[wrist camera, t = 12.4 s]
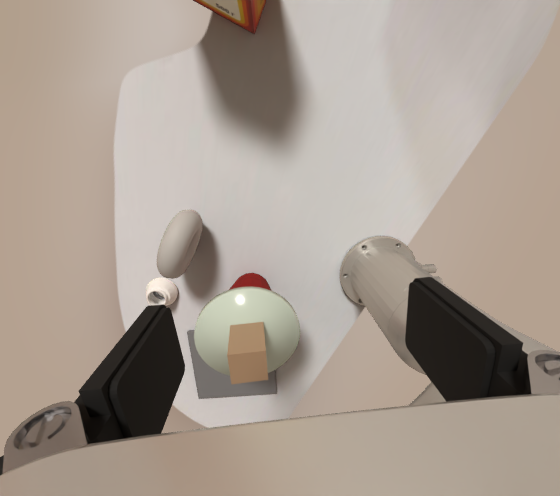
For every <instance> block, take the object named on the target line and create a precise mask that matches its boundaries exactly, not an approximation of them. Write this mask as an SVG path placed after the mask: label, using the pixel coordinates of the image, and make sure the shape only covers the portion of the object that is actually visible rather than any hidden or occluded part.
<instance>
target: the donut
mask: <svg viewBox="0 0 560 496" xmlns="http://www.w3.org/2000/svg"><path fill="white" fill-rule="evenodd" d="M202 226H203V223H202V219H201V217H200V215H199V214H198V213H197V212H196V211H194V210H183V211H181V212H179V213H178V214H177V215H176V216H175V217H174V218H173V219H172V220H171V222H170V223H169V225H168V227H167V229H166V231H165V233H164V235H163V237H162V240H161V243H160V246H159V249H158V254H157V267H158V270H159V272H160V274H161V275H162V276H164V277H166V278H172V279H173V278H177V277H180V276H181V275H182V274H183V273H184V272H185V271H186V269H187V268H188V266H189V264H190V262H191V260H192V258H193V256H194V254H195V251H196V249H197V246H198V243H199V240H200V237H201V233H202Z"/></svg>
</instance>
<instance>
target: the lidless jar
mask: <svg viewBox="0 0 560 496" xmlns="http://www.w3.org/2000/svg"><path fill="white" fill-rule="evenodd" d="M154 291H157V293H158V294H159V295H160V296H163V297H165V300H160V299H158V298H156V297H155V296H154V294H153V292H154ZM177 295H178V291H177V287H176V286H175V284H174V283H173V282H171V281H170V280H169V279H165V278H156V279H153V280H151V281H150V283H149V284H148V285H147V288H146V298H147V302H148V303H149V304H150V305H151V306H152V305H162V304H164V305H165V306H168V305H170V304H172V303H173V302H174V301H175V300H176V299H177Z"/></svg>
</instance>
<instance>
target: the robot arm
mask: <svg viewBox="0 0 560 496" xmlns="http://www.w3.org/2000/svg"><path fill="white" fill-rule="evenodd" d="M396 244H397V245H396ZM363 245H364V246H363ZM362 246H363V247H362ZM435 272H436V266H435V265H434V264H429V265H421V264H420V263H418V262H417V261H415V257H414V255H413V253H412V251H411V250H410V249H409V248H408V246H406V245H405V244H404V243H403V242H401V241H399V240H397V239H395V238H392V237H387V236H375V237H371V238H368V239H365V240H363V241H361V242H359V243H358V244H356V245H355V246H354V247H353V248H352V249H351V250H350V251H349V252H348V253H347V255H346V256H345V258H344V260H343V262H342V265H341V268H340V282H341V285H342V288H343V290H344V291H345V293H346V294H347V296H348V297H349V298H350V299H351V300H352V301H354V302H355V303H357V304H359V305H362V306H365V307H366V308H367V309H368V311H369V312H370V314H371V315H372V317H373V318H374V320H375V321H376V323H377V324H378V326H379V327H380V329H381V330H382V332H383V333H384V335H385V336H386V338H387V339H388V341H389V342H390V344H391V346H392V347H393V349H394V350H395V352H396V353H397V354H398V356H399V357H400V358H401V359H402V360H403V361H404V362H405V363H406V364H407V365H408V366H410V367H411V368H413V369H415V370H416V371H418V372H420V373H423V374H425V375H427V376H428V377H429V379H430V380H431V383H430V384H429V386H427V388H426V389H425V390H424V391H423V392H422V393H421V394H420V395H419V396H418V397H417V398H416V399H415V400H414V401H413V402H412V403H411V404H410V405H409V406H401V407H391V408H382V409H372V410H363V411H353V412H344V413H335V414H326V415H318V416H309V417H299V418H290V419H281V420H273V421H264V422H255V423H247V424H238V425H230V426H221V427H213V428H204V429H196V430H188V431H180V432H171V433H162V434H161V432H162V430H163V427H164V424H165V422H166V419H167V416H168V413H169V411H170V408H171V406H172V403H173V401H174V398H175V396H176V393H177V390H178V388H179V385H180V383H181V380H182V377H183V375H184V371H185V364H184V360H183V356H182V352H181V348H180V344H179V340H178V336H177V332H176V328H175V324H174V320H173V316H172V312H171V309H170V308H166V306H165V305H164V304H162V305H152V306H147V307H146V308H145V310H144V311H143V312H142V313H141V314H140V316H139V317H138V318H137V319H136V321H135V322H134V323H133V324H132V326H131V327H130V328H129V329H128V331H127V332H126V333H125V334H124V335H123V337H122V338H121V339H120V341H119V342H118V343H117V344H116V345H115V347H114V348H113V349H112V350H111V352H110V353H109V354H108V355H107V357H106V358H105V359H104V360H103V361H102V363H101V364H100V365H99V367H98V368H97V369H96V370H95V371H94V373H93V374H92V375H91V376H90V378H89V379H88V380H87V381H86V383H85V384H84V385H83V386H82V388H81V389H80V390H79V393H80V396H79V397H78V398H77V399H76V401H75V402H70V401H67V402H60V403H56V404H52V405H50V406H48V407H46V408H43V409H41V410H40V411H38V412H36V413H35V414H33V415H31V416H30V417H29V418H27V419H26V420H25V421H23V422H22V423H21V424H20V425H19V426H18V427H17V428H16V429H15V430H14V431H13V432H12V434H11V435H10V436H9V438H8V439H7V442H6V445H5V448H4V455H3V456H2V457H0V496H560V352H558V351H556V350H554V349H552V348H550V347H548V346H546V345H544V344H542V343H540V342H538V341H536V340H534V339H532V338H530V337H528V336H526V335H524V334H522V333H520V332H518V331H516V330H514V329H513V328H511V327H509V326H507V325H505V324H503V323H502V322H500V321H498V320H496V319H495V318H493V317H492V316H490V315H488V314H487V313H485V312H484V311H482V310H481V309H479V308H478V307H476V306H475V305H473V304H472V303H470V302H469V301H467V300H466V299H465V298H463V297H462V296H460V295H459V294H458V293H456V292H455V291H453V290H452V289H450V288H449V287H448V286H446V285H445V284H443V282H442V279H441V278H440V277H433V276H432V275H430V274H429V273H435ZM344 274H345V275H344Z"/></svg>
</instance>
